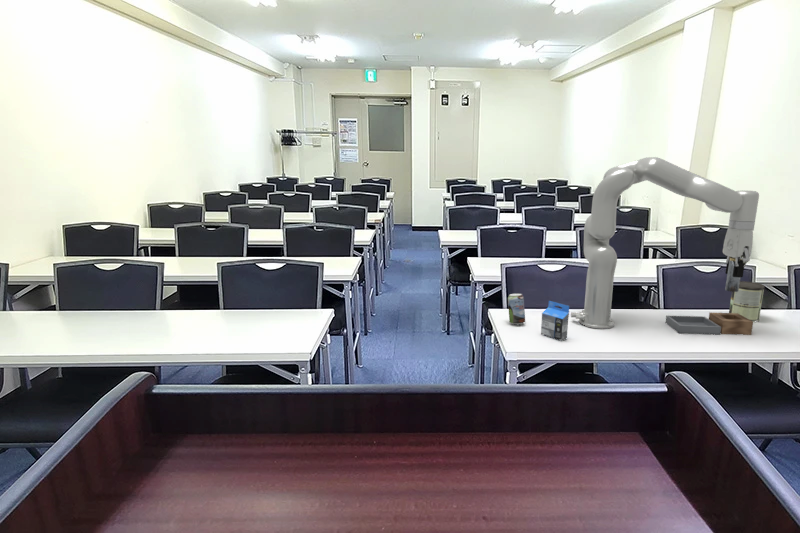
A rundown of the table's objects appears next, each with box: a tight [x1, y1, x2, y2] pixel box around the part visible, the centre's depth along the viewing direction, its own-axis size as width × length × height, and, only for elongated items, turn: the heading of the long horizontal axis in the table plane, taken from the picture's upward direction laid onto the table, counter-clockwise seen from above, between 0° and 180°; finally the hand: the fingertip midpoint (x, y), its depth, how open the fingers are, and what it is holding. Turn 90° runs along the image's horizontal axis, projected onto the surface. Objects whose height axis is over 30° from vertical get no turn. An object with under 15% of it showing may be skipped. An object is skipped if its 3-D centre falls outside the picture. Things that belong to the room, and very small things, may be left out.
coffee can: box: [728, 280, 766, 323], centre depth 189 cm, size 10×10×14 cm
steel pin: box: [724, 257, 742, 293], centre depth 173 cm, size 4×4×12 cm
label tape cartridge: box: [540, 300, 570, 342], centre depth 171 cm, size 9×4×12 cm, turn 37°
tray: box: [665, 314, 721, 336], centre depth 179 cm, size 14×12×3 cm
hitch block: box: [708, 311, 754, 336], centre depth 177 cm, size 10×10×5 cm
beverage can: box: [507, 293, 526, 325], centre depth 185 cm, size 6×7×12 cm
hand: (733, 275), depth 173 cm, fingers closed on steel pin, 4 cm apart
